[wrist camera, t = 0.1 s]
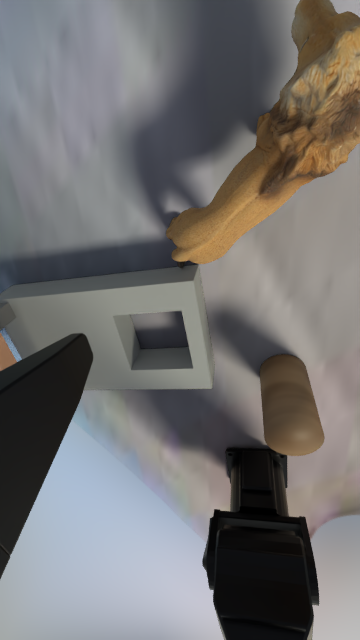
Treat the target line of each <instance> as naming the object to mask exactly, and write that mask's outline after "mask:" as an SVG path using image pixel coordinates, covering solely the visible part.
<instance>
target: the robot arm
mask: <svg viewBox="0 0 360 640" xmlns="http://www.w3.org/2000/svg"><path fill="white" fill-rule="evenodd" d="M92 363H93V352H92V349H91V347H90V344H89V342H88V339H87V337H86V335H85V334H83V333H73V334H70V335H68V336H66V337H64V338H62V339H60V340H58V341H57V342H55V343H53V344H51V345H49V346H47V347H45V348H43V349H41V350H39V351H38V352H36V353H34V354H32V355H30V356H28V357H26V358H24V359H22V360H20V361H18V362H17V363H15V364H13V365H11V366H9V367H7V368H5V369H3V370H1V371H0V579H1V576H2V574H3V571H4V570H5V567H6V565H7V563H8V561H9V559H10V555H11V554H12V551H13V549H14V547H15V545H16V542H17V540H18V538H19V536H20V534H21V531H22V529H23V527H24V525H25V522H26V520H27V518H28V516H29V513H30V511H31V509H32V507H33V505H34V502H35V500H36V498H37V495H38V493H39V491H40V489H41V487H42V484H43V482H44V480H45V478H46V476H47V473H48V471H49V469H50V467H51V464H52V462H53V460H54V458H55V455H56V453H57V451H58V449H59V447H60V444H61V442H62V440H63V438H64V435H65V433H66V431H67V429H68V426H69V424H70V422H71V420H72V418H73V415H74V413H75V411H76V409H77V406H78V404H79V402H80V399H81V396H82V393H83V390H84V387H85V384H86V381H87V378H88V375H89V372H90V369H91V366H92ZM226 459H227V465H228V471H229V477H230V483H231V504H230V512H229V511H220V510H217V509H214V516H213V517H212V518H210V525H209V535H208V540H207V544H206V548H205V552H204V556H203V567H204V568H205V570H206V571H207V577H208V583H209V588H210V590H214V594H213V602H214V606H215V610H216V614H217V617H218V621H219V624H220V628H221V631H222V634H223V637H224V640H312V632H313V618H314V615H313V607H312V605H319V590H318V581H317V574H316V568H315V561H314V556H313V551H312V547H311V542H310V537H309V533H308V528H307V523H306V518H305V517H301V516H299V517H289V514H288V506H287V498H286V489H285V488H287V455H284V454H281V453H278V452H276V451H274V450H259V449H231V448H230V449H227V450H226Z"/></svg>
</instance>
